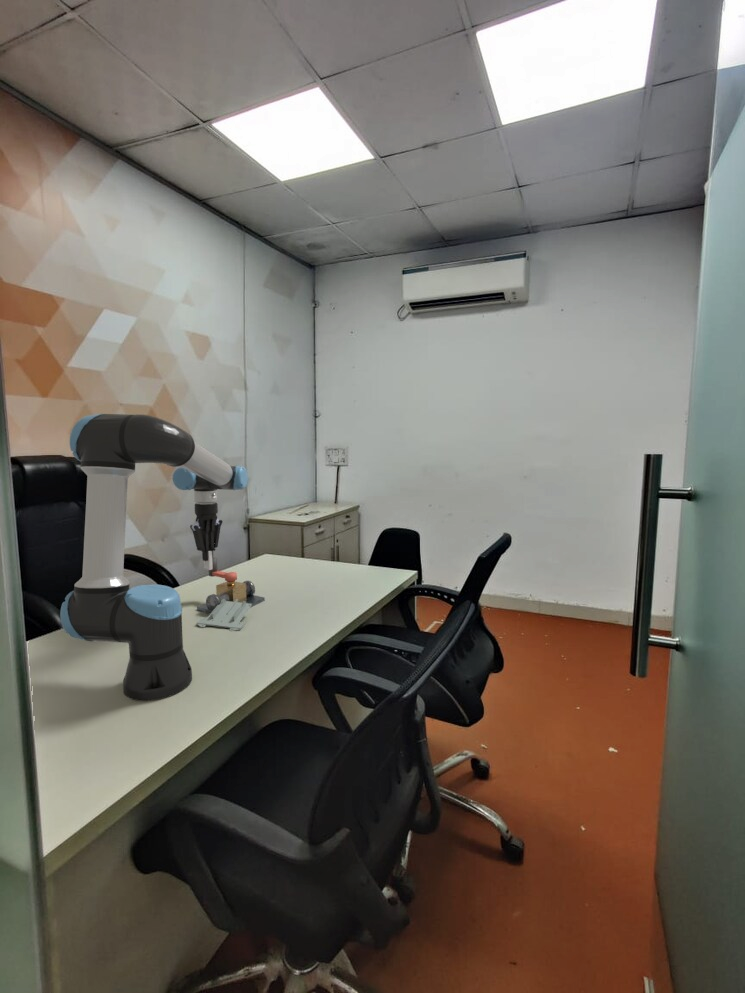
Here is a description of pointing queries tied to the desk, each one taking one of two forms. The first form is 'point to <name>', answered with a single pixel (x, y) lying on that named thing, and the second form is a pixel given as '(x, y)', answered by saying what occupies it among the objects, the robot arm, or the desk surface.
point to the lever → (214, 572)
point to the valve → (231, 595)
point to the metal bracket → (226, 615)
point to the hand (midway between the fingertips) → (208, 569)
